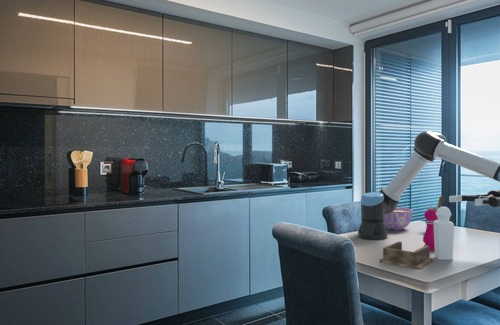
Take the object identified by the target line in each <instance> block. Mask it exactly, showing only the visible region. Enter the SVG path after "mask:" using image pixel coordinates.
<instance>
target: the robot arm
mask: <svg viewBox="0 0 500 325" xmlns="http://www.w3.org/2000/svg"><path fill="white" fill-rule="evenodd" d="M413 142H414V143H413V144H414V147H413V149H412V150H413V153H412V154H411V156H410V157H409V158H408V159H407V161H406V162H405V163H404V165H403V166H402V167H401V168H400V170H399V171H398V172H397V173H396V174H395V176H394V177H393V178H392V179H391V181H390V182H389V183H388V185H386V186H382V188H380V190H379V192H378V191H373V192H372V191H371V192H366V193H363V194H362V195H361V198H360V219H361V220H360V225H359V228H358V231H357V237H358V238H361V239H364V240H365V239H366V240H375V241H376V240H386V239H388V232H387V227H385V225H384V215H385V214H389V213H391V212H393V211H394V210H395V209H396V208H397V207H398V203H399V202H400V201H401V196H402V195H403V193H404V192H405V191H406V190H407V188H408V187H409V186H410V185H411V184H412V182H413V181H414V180H415V179H416V177H417V176H418V175H419V174H420V173H421V171H423V169H424V168H425V167H426V165H427V164H429V163H432V162H434V161H435V160H436V159H438V158H439V159H442V160H444V161H447V162H449V163H451V164H454V165H456V166H460V167H461V168H464V169H466V170H469V171H472V172H474V173H476V174H479V175H482V176H484V177H487V178H488V179H489V178H490V179H491V180H494V181H497V182H498V183H499V182H500V162H498V161H495V160H492V159H489V158H487V157H484V156H481V155H479V154H477V153H474V152H471V151H468V150H466V149H462V148H461V147H458V146H455V145H453V144H450V143H448V141H447V139H446V137H445V135H443V134H442V133H440V132H437V131H422V132H420V133H418V134H417V135H416V137H415V138H414V141H413ZM448 202H449V203H459V204H460V203H462V202H474V206H475V207H477V206H478V207H479V206H490V207H492V208H500V189H494V190H493V189H492V190H490V191H488V192H487V193H484V194H457V195H449V196H448ZM399 204H400V203H399Z"/></svg>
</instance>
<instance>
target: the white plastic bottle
mask: <svg viewBox="0 0 500 325" xmlns="http://www.w3.org/2000/svg"><path fill="white" fill-rule="evenodd" d="M436 215H437V217H438V220H435V221H434V245H435V251H434V257H435V258H436V259H437V260H439V261H441V260H442V261H443V260H444V261H445V260H446V261H453V259H454V258H453V257H454V236H455V235H454V234H455V233H454V232H455V225H454V223H453V222H452V221H450V218H451V216H452V213H451V209H450V208H449V207H447V206H441V207H439V208H438V209H437V212H436Z"/></svg>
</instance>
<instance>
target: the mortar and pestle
mask: <svg viewBox="0 0 500 325" xmlns="http://www.w3.org/2000/svg"><path fill="white" fill-rule="evenodd" d="M445 199H446V197H445V195H440V196H439V198H438V201H437V206H436V207H433V210H435V211H437V209H438V208H439V207H443V204H444V202H445ZM427 210H430V209H429V207H427ZM437 220H438V219H437Z"/></svg>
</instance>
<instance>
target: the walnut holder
mask: <svg viewBox="0 0 500 325" xmlns="http://www.w3.org/2000/svg"><path fill="white" fill-rule="evenodd" d="M424 245H425V244H424ZM424 245H423V246H422V247H420V248H417V249H416V250H413V251H409V250H404V249H403V242H402V241H396V242H395V243H392V244H390V245H387V246H385V247H383V248H382V258H380V259H379V263H382V264H389V265H394V266H398V267H400V266H401V267H403V268H404V267H405V268H410V269H416V270H421V269H422V268H424V267H426V266H427V265H429V264H430V263H432V262H434V257H430V251H429V246H427V245H425V246H424Z"/></svg>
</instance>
